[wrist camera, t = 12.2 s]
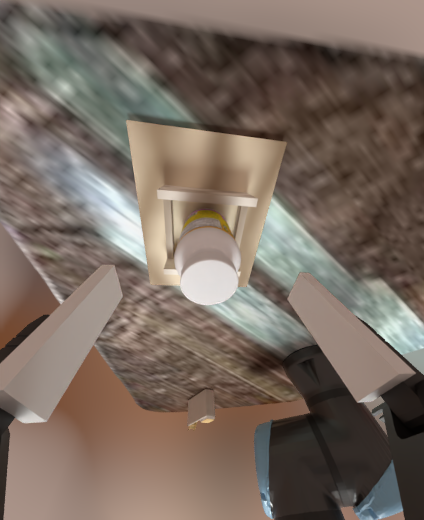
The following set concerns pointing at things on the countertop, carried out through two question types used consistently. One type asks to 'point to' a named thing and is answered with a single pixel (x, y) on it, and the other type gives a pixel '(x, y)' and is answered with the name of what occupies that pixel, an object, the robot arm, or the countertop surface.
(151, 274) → the bottle dock
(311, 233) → the countertop surface
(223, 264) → the supplement bottle
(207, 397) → the model
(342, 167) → the countertop surface
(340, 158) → the countertop surface
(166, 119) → the countertop surface
